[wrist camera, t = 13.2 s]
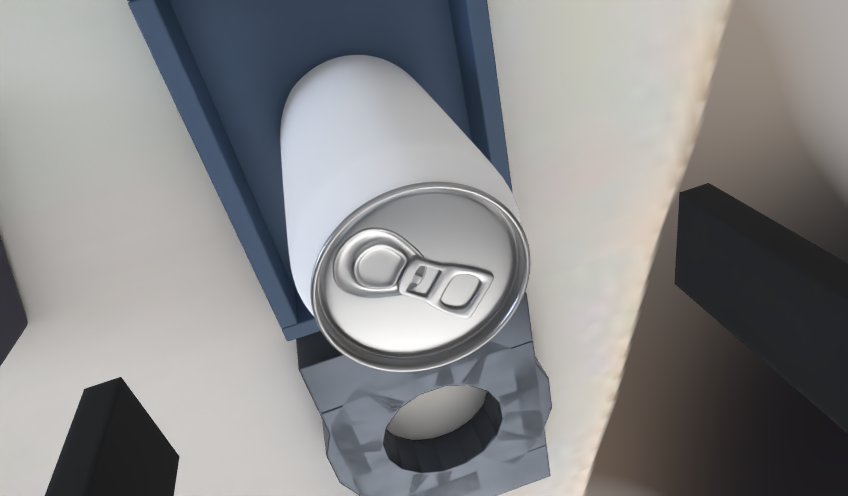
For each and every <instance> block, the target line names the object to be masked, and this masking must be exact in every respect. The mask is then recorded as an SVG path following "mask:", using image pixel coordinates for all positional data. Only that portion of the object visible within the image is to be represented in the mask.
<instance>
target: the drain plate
mask: <svg viewBox="0 0 848 496" xmlns="http://www.w3.org/2000/svg"><path fill="white" fill-rule="evenodd" d="M296 343H297V355H298V367H299V371H300V373H301V375H302V377H303V380H304V382H305V384H306V386H307V388H308V390H309V392H310V394H311V396H312V398H313V401H314V403H315V405H316V407H317V409H318V411H319V413H320V415H321V417H322V419H323V430H324V439H325V447H326V455H327V458H328V460H329V462H330V464H331V466H332V468H333V470H334V472H335V474H336V476H337V478H338V480H339V482H340V483H341V484H343V485H344V486H346V487H347V488H349V489H351V490H352V491H354V492H355V493H357V494H358V495H359V496H497V495H500V494H503V493H505V492H508V491H511V490H514V489H516V488H519V487H522V486H524V485H527V484H530V483H533V482H535V481H538V480H541V479H543V478H546V477H549V476H550V469H549V461H548V454H547V446H546V438H545V430H544V427H545V424H546V421H547V419H548V416H549V414H550V411H551V408H552V403H551V395H550V386H549V378H548V376H547V374H546V373H545V371H544V370H543V368H542V366H541V365H540V363H539V362H538V360H537V358H536V357H535V354H534V346H533V341H532V332H531V324H530V317H529V309H528V301H527V294H526V292H525V293H524V295H523V298H522V300H521V302H520V304H519V306H518V308H517V309H516V311H515V312H514V314H513V315H512V317H511V318H510V320H509V321H508V322H507V323H506V325H505V326H504V327H503V328H502V329H501V330H500V331H499V332H498V333H497V334H496V335H495V336H494V337H493V338H492V339H491V340H489V341H488V342H487V343H486V344H484V345H483V346H482V347H480V348H479V349H477V350H476V351H474V352H472V353H471V354H469V355H467V356H465V357H463V358H461V359H459V360H457V361H454V362H452V363H449V364H447V365H444V366H440V367H437V368H433V369H428V370H423V371H415V372H391V371H383V370H378V369H374V368H370V367H367V366H364V365H361V364H359V363H357V362H355V361H353V360H351V359H349V358H348V357H346V356H344V355H343V354H342V353H340V352H339V351H338V350H337V349H335V348H334V347H333V346H332V345H331V344H330V343H329V342H328V340H327V339H326V338H325V336H324V335H323V334H322V332H321V331H318V332H315V333H312V334H309V335H306V336H303V337H300V338H297V339H296ZM457 385H470V386H473V387H476V388H480V389H483V390H486V391H488V392H487V395H486V398H485V401H484V405H483V406H482V407H481V409H480V410H479V411H478V412H477V414H476V415H475V416H474V417H473V419H472V420H471V421H469V422H468V423H466V424H465V425H463V426H462V427H460V428H459V429H457V430H456V431H455V432H452V433H449V434H446V435H443V436H441V437H438V438H435V439H428V440H415V441H412V440H408V439H404V438H400V437H395V436H393V435H392V434H391V433H389V432H388V431H387V430H386V427H387V425H388V424H389V422H390V421H391V420H392V418H393V417H394V416H395V414H396V413H397V412H398V410H399V409H400V408H401V407H402V406H404V405H405V404H407V403H408V402H410V401H411V400H413V399H414V398H415V397H417V396H418V395H420V394H423V393H426V392H429V391H432V390H435V389H438V388H440V387H443V386H457Z"/></svg>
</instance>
